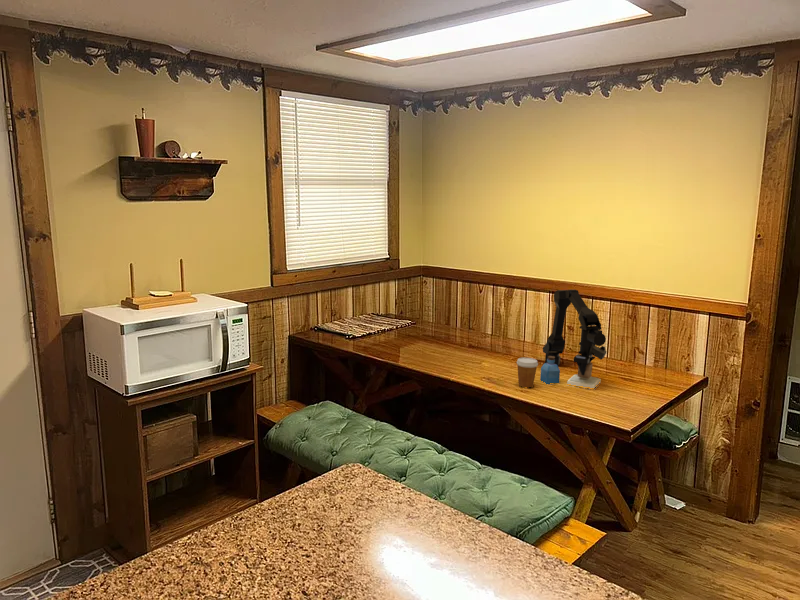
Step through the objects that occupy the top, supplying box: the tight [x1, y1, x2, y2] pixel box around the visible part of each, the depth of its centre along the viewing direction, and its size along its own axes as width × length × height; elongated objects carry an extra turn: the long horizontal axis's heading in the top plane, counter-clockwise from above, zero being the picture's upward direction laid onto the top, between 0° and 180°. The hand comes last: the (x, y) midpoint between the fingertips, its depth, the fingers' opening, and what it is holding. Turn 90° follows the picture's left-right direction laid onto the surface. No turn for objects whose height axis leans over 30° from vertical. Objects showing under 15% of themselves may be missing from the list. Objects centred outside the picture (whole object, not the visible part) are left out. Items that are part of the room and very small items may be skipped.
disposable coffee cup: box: [516, 357, 539, 388], centre depth 276 cm, size 10×10×12 cm
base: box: [566, 373, 602, 389], centre depth 282 cm, size 12×12×2 cm
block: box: [577, 362, 593, 379], centre depth 281 cm, size 5×5×6 cm
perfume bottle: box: [539, 356, 561, 385], centre depth 283 cm, size 6×6×12 cm
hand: (584, 373), depth 281 cm, fingers closed on block, 5 cm apart
